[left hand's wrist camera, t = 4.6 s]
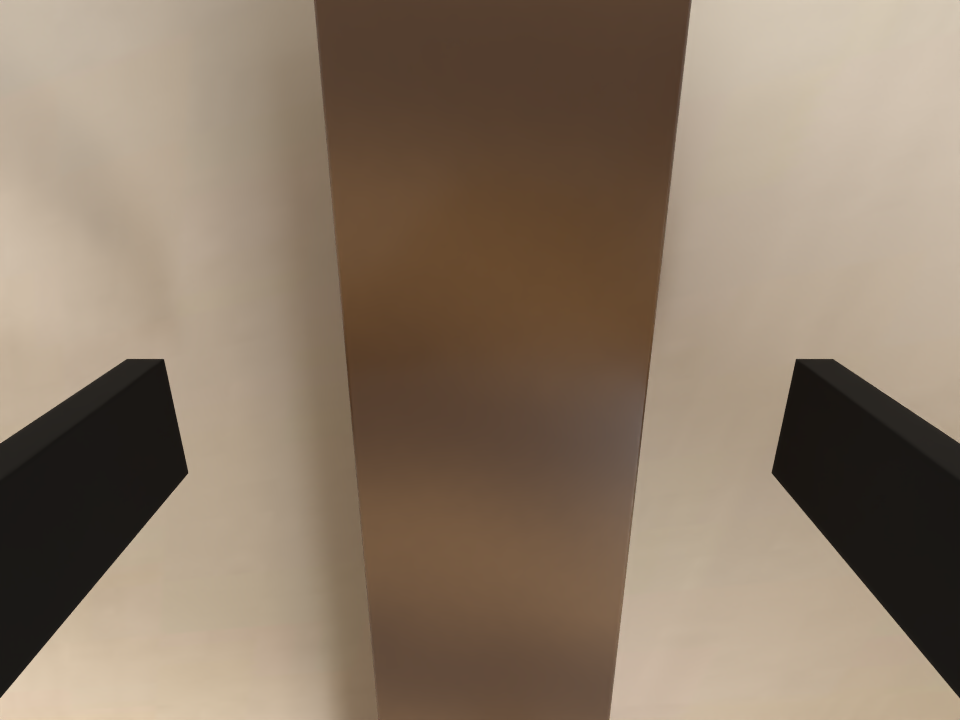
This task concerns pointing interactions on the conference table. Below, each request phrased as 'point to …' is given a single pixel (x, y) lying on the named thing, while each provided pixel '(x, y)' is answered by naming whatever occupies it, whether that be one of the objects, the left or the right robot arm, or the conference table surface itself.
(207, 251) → the conference table surface
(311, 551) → the conference table surface
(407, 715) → the post
